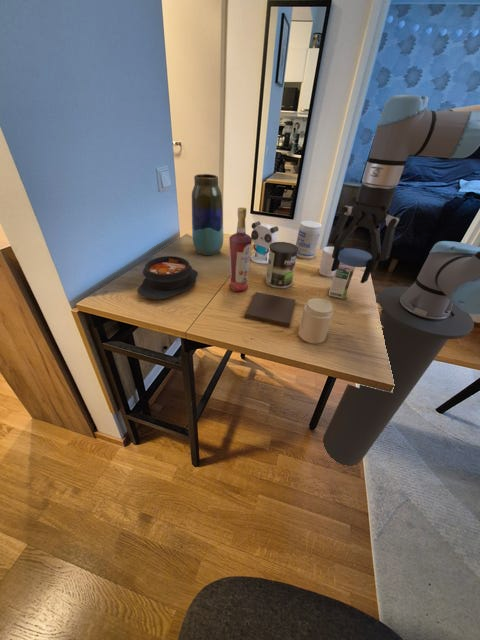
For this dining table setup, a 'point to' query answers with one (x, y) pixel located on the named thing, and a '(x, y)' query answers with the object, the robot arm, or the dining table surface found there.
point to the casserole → (167, 277)
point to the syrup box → (341, 280)
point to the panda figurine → (262, 241)
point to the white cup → (327, 262)
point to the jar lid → (354, 257)
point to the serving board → (271, 309)
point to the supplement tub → (308, 239)
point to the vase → (207, 214)
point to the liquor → (239, 254)
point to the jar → (315, 320)
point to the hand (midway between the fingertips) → (348, 275)
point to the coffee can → (281, 264)
